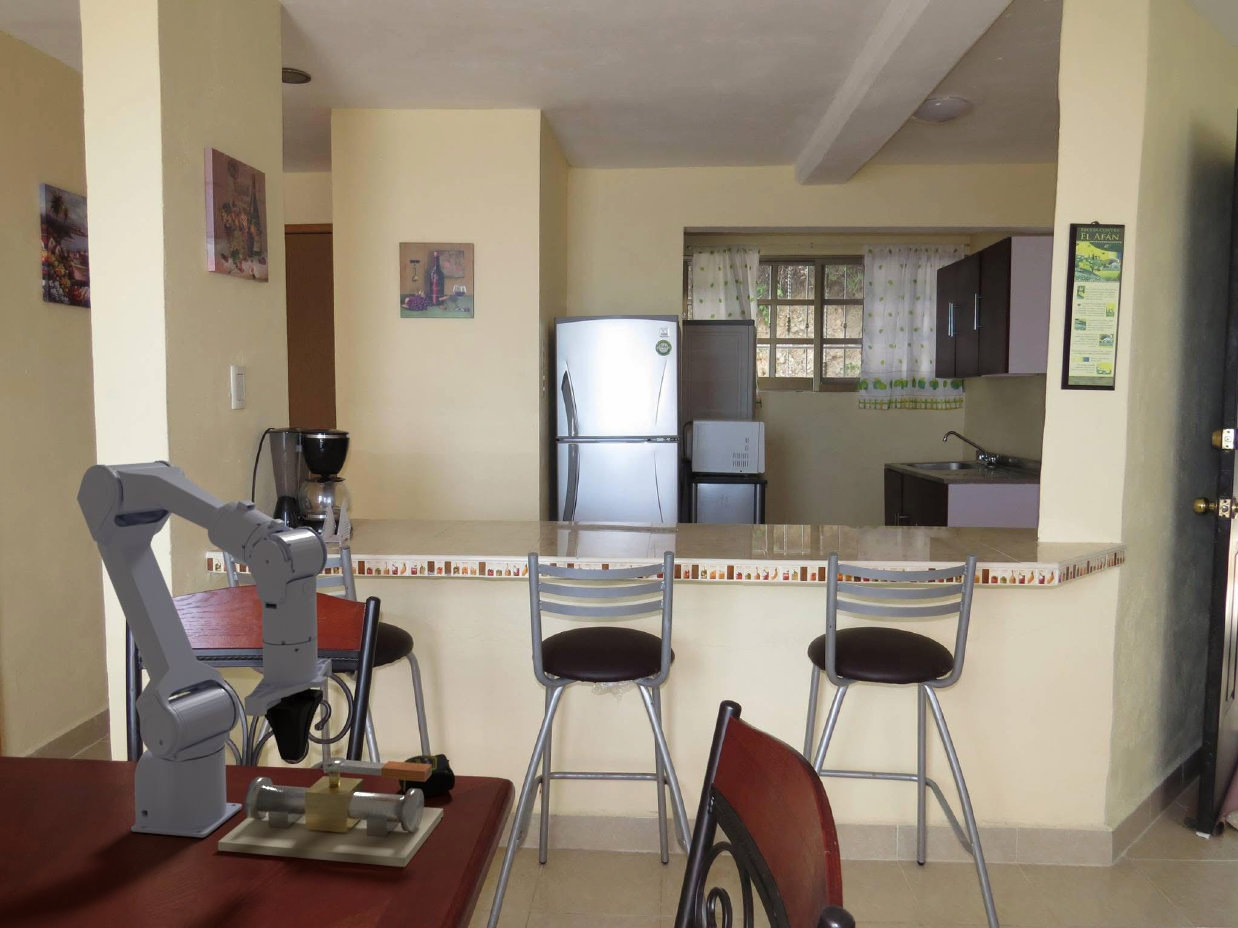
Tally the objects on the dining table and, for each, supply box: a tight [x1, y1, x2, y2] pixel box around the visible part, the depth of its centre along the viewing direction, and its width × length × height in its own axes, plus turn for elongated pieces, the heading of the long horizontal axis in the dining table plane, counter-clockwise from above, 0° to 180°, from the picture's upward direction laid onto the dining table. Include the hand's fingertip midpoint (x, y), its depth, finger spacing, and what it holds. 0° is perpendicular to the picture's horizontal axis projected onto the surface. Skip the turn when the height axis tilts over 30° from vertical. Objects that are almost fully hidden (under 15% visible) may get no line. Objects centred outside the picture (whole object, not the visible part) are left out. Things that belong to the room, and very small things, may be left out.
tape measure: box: [398, 753, 456, 797], centre depth 117 cm, size 7×7×4 cm
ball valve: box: [243, 772, 425, 838], centre depth 105 cm, size 20×5×6 cm, turn 81°
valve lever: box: [322, 756, 432, 782], centre depth 104 cm, size 13×2×1 cm, turn 80°
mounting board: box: [217, 806, 444, 868], centre depth 105 cm, size 22×12×1 cm, turn 81°
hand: (292, 757), depth 101 cm, fingers closed
